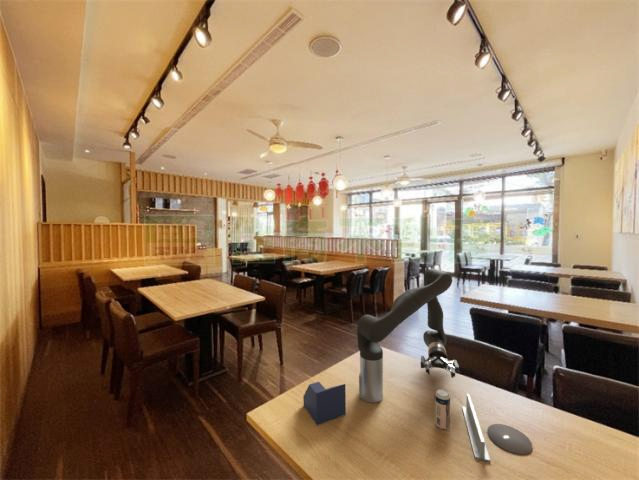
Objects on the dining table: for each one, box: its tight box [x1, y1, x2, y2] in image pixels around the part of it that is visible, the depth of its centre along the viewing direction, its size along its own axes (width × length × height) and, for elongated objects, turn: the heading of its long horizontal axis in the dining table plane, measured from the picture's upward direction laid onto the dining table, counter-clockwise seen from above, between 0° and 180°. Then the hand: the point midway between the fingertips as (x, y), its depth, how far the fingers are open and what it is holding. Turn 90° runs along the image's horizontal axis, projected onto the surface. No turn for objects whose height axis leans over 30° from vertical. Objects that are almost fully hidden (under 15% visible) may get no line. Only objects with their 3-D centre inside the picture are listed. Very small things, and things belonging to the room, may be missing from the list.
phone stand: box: [302, 381, 347, 426], centre depth 105 cm, size 12×12×12 cm
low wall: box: [461, 393, 491, 464], centre depth 93 cm, size 4×24×6 cm, turn 161°
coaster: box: [486, 423, 533, 455], centre depth 90 cm, size 12×12×1 cm
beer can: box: [434, 388, 451, 430], centre depth 96 cm, size 5×5×12 cm
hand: (440, 373), depth 106 cm, fingers open, 8 cm apart
